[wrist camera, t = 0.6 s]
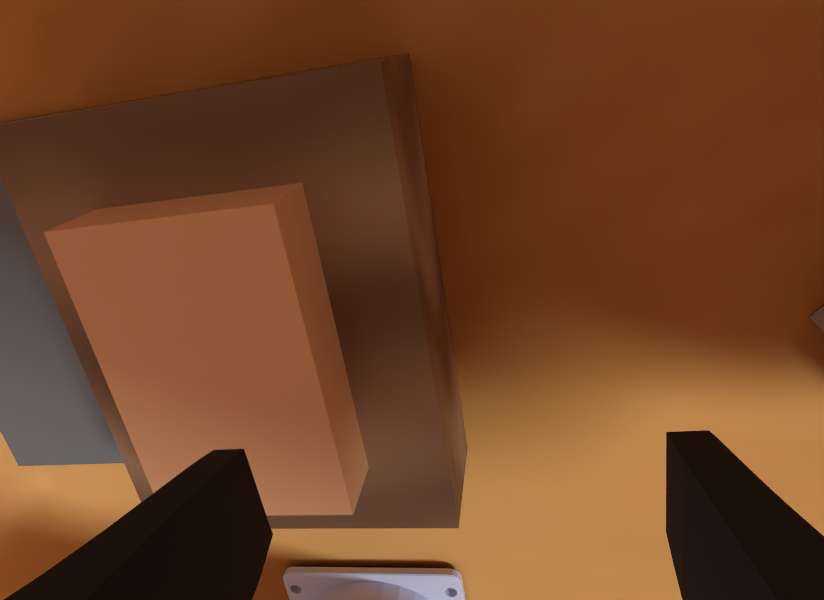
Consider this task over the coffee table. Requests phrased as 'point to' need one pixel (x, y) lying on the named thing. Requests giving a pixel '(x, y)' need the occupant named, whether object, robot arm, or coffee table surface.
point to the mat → (42, 365)
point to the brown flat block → (334, 232)
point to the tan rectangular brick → (220, 340)
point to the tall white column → (818, 318)
